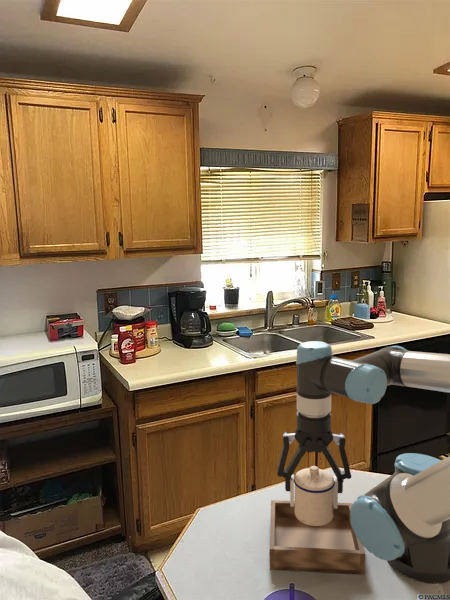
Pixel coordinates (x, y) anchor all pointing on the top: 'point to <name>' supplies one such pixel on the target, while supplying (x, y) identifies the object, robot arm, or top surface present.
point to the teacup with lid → (314, 496)
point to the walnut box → (314, 542)
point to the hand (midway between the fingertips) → (313, 504)
